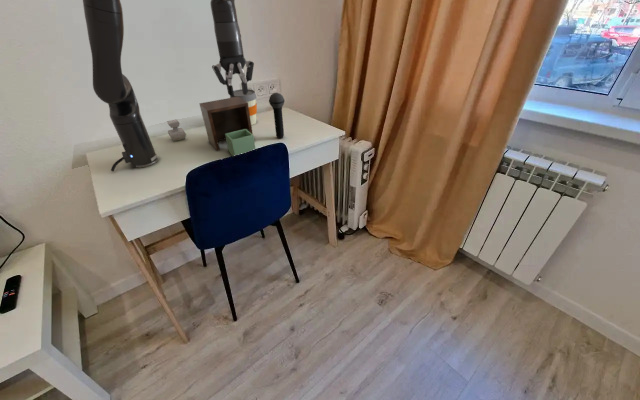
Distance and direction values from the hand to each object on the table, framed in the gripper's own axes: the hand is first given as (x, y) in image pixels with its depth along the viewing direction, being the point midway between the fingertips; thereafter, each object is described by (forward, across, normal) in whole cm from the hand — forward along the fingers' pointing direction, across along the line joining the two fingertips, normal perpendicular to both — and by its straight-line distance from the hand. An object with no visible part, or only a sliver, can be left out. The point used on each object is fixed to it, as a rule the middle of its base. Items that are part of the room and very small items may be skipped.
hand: (238, 95), depth 97 cm
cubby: (+25, 0, -21) cm, 33 cm away
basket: (+25, 0, -8) cm, 26 cm away
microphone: (+25, -20, -12) cm, 35 cm away
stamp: (+25, +19, -38) cm, 50 cm away
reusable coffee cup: (+25, -15, -39) cm, 49 cm away
